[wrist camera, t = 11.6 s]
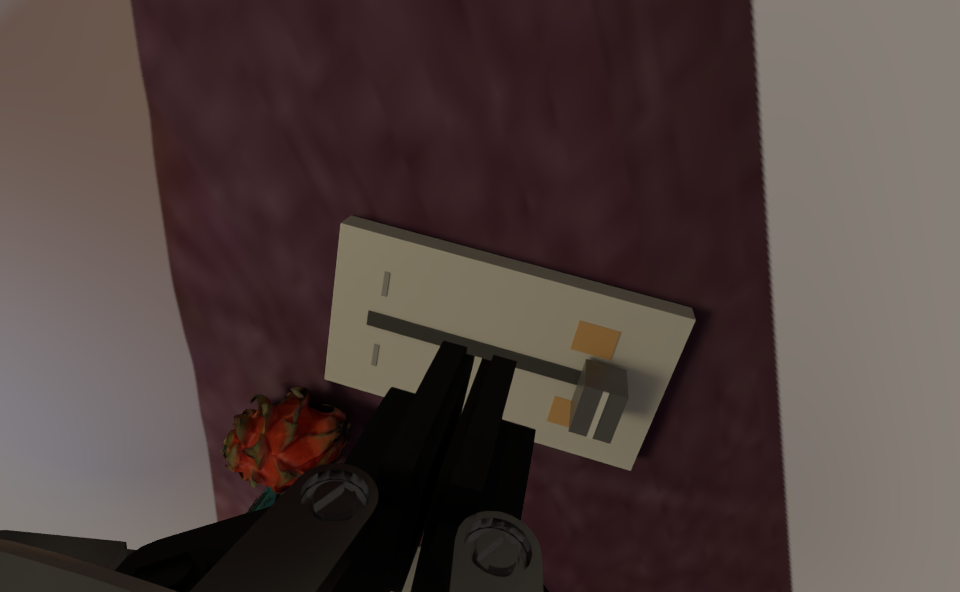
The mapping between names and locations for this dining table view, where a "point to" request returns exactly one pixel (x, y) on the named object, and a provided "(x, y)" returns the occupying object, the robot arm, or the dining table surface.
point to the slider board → (498, 330)
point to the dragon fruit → (284, 440)
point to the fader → (598, 401)
